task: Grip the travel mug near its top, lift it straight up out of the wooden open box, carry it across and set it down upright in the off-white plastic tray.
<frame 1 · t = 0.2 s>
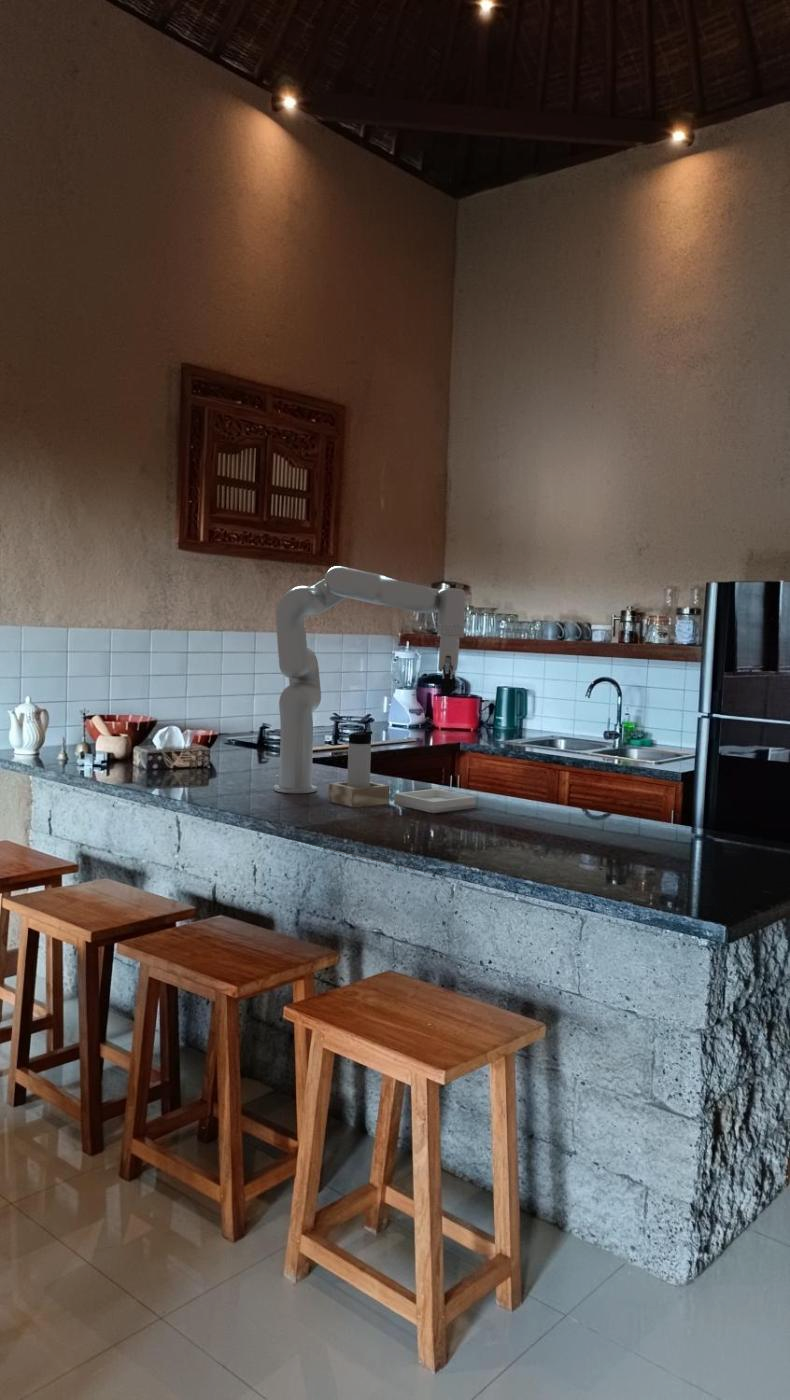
hand: (448, 692, 290), 31 cm above the countertop, tool pointing down, fingers open, 9 cm apart
travel mug: (358, 803, 284), resting in wooden open box
tray: (434, 805, 282), on the countertop
wooden open box: (358, 802, 284), on the countertop
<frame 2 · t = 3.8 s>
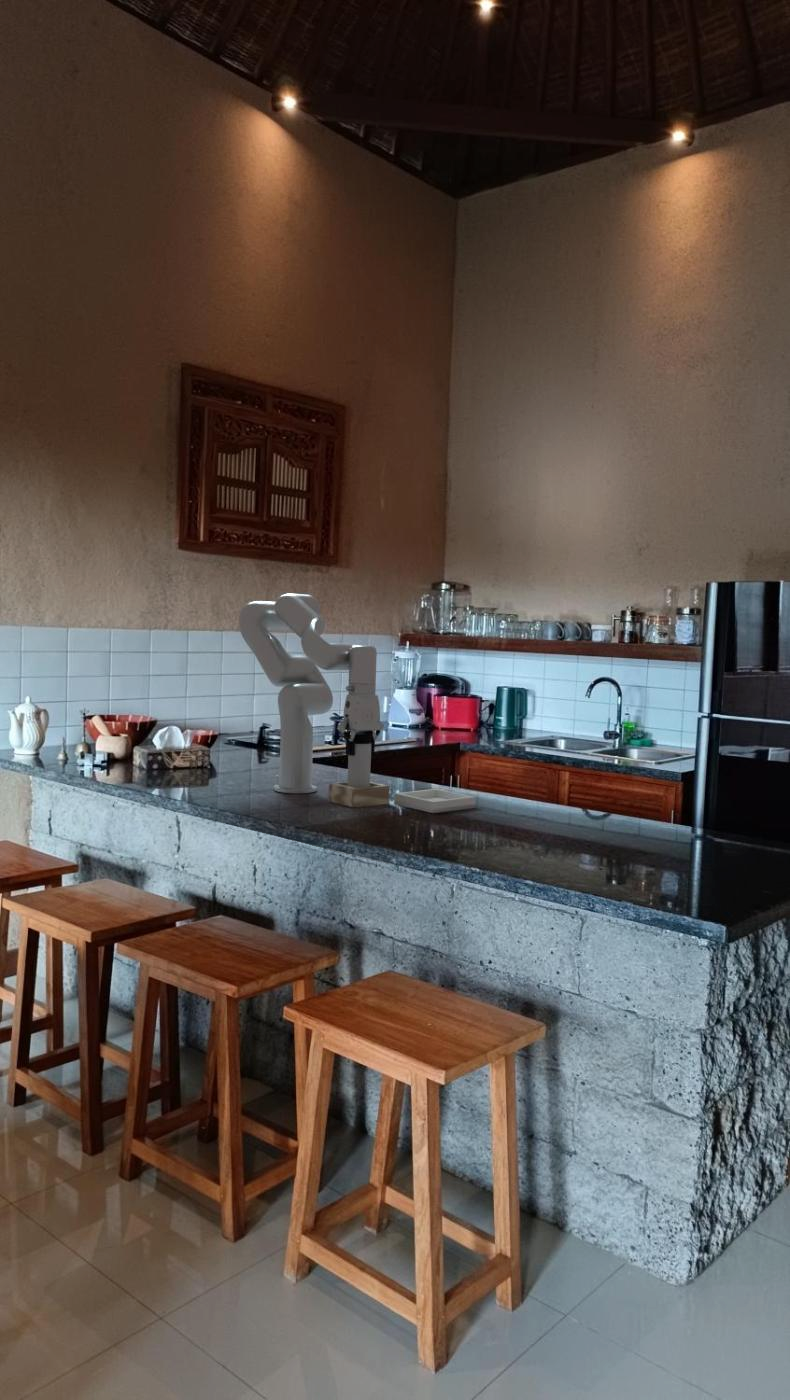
hand: (360, 753, 283), 14 cm above the countertop, tool pointing down, fingers closed on travel mug, 6 cm apart
travel mug: (358, 803, 284), resting in wooden open box, touching gripper
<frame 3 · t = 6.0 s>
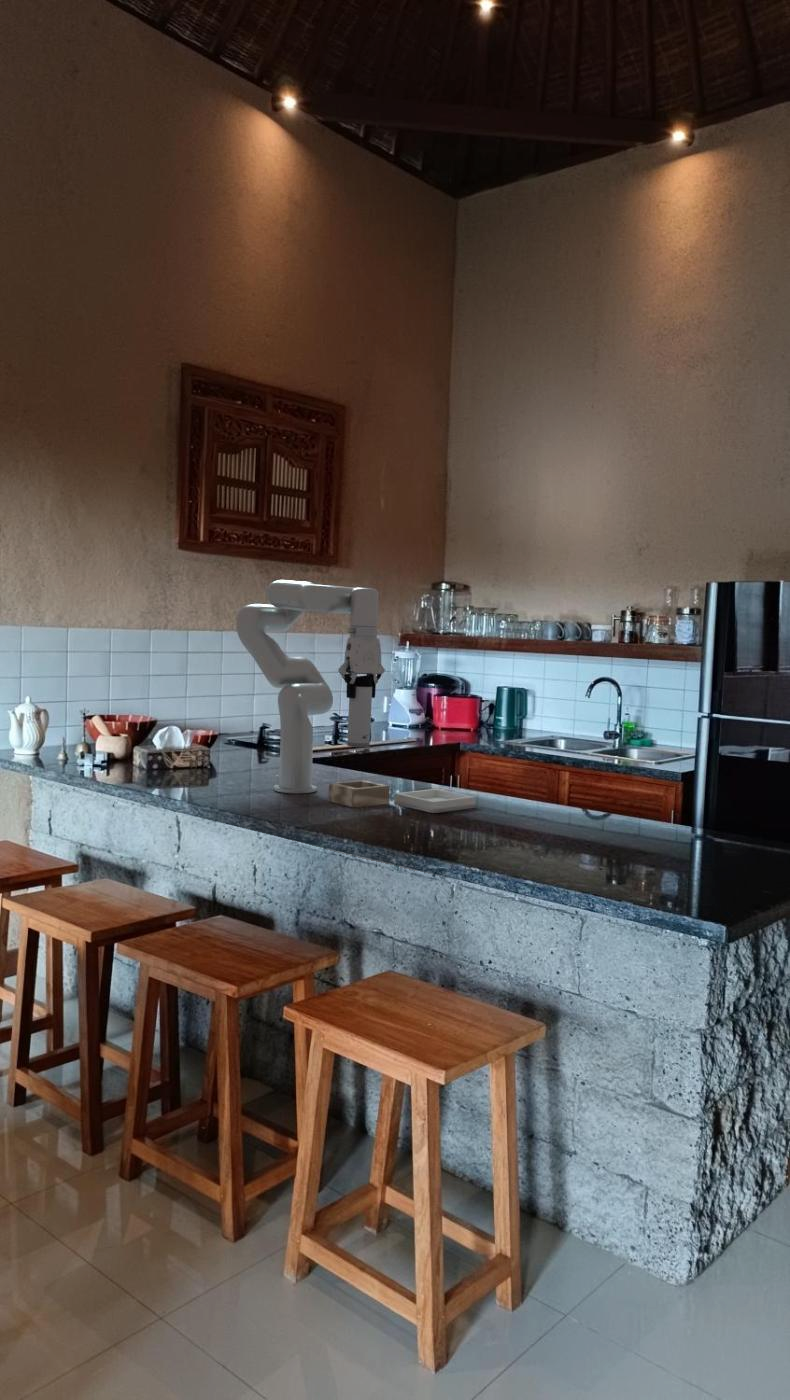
hand: (360, 697, 282), 29 cm above the countertop, tool pointing down, fingers closed on travel mug, 6 cm apart
travel mug: (358, 746, 283), point 16 cm above the countertop, touching gripper
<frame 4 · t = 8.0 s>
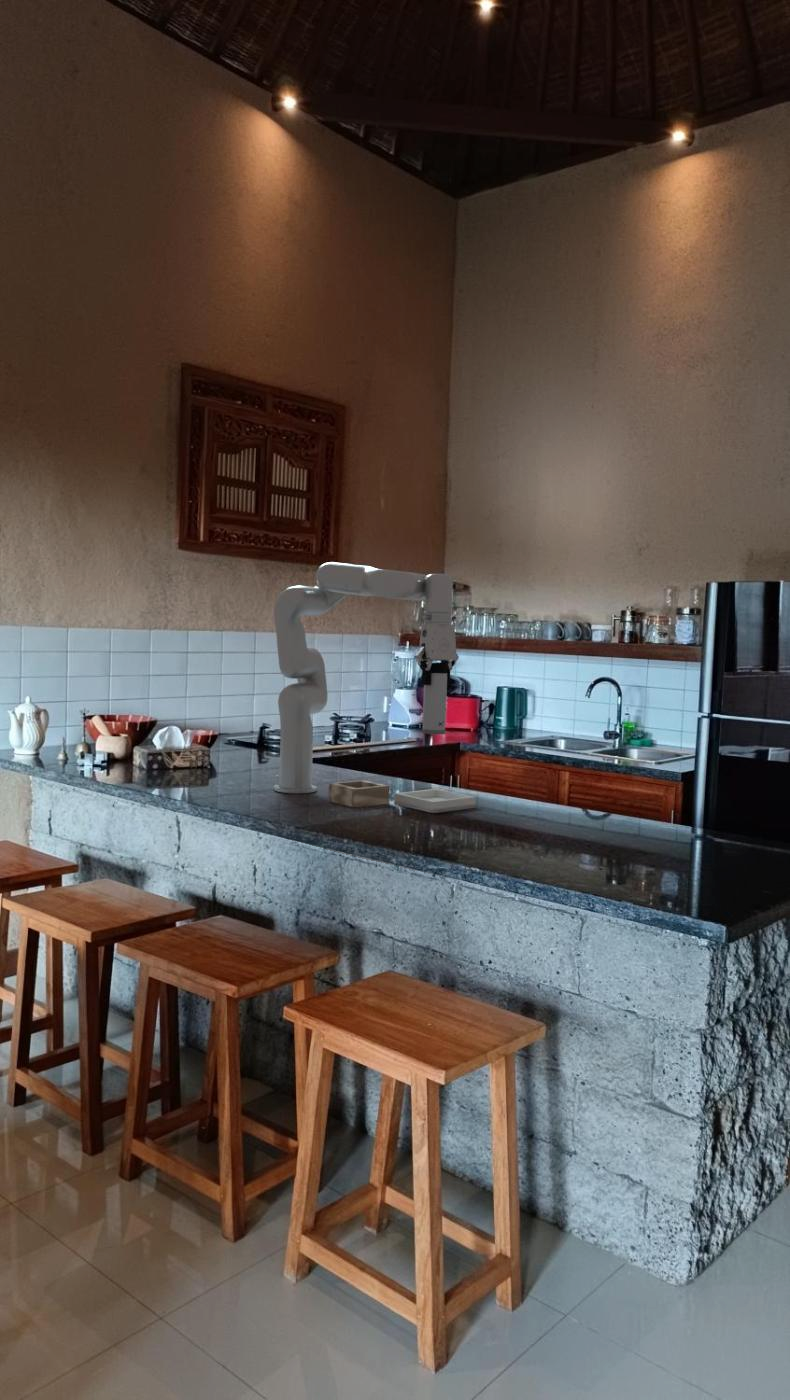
hand: (435, 684, 280), 34 cm above the countertop, tool pointing down, fingers closed on travel mug, 6 cm apart
travel mug: (434, 733, 281), point 20 cm above the countertop, touching gripper
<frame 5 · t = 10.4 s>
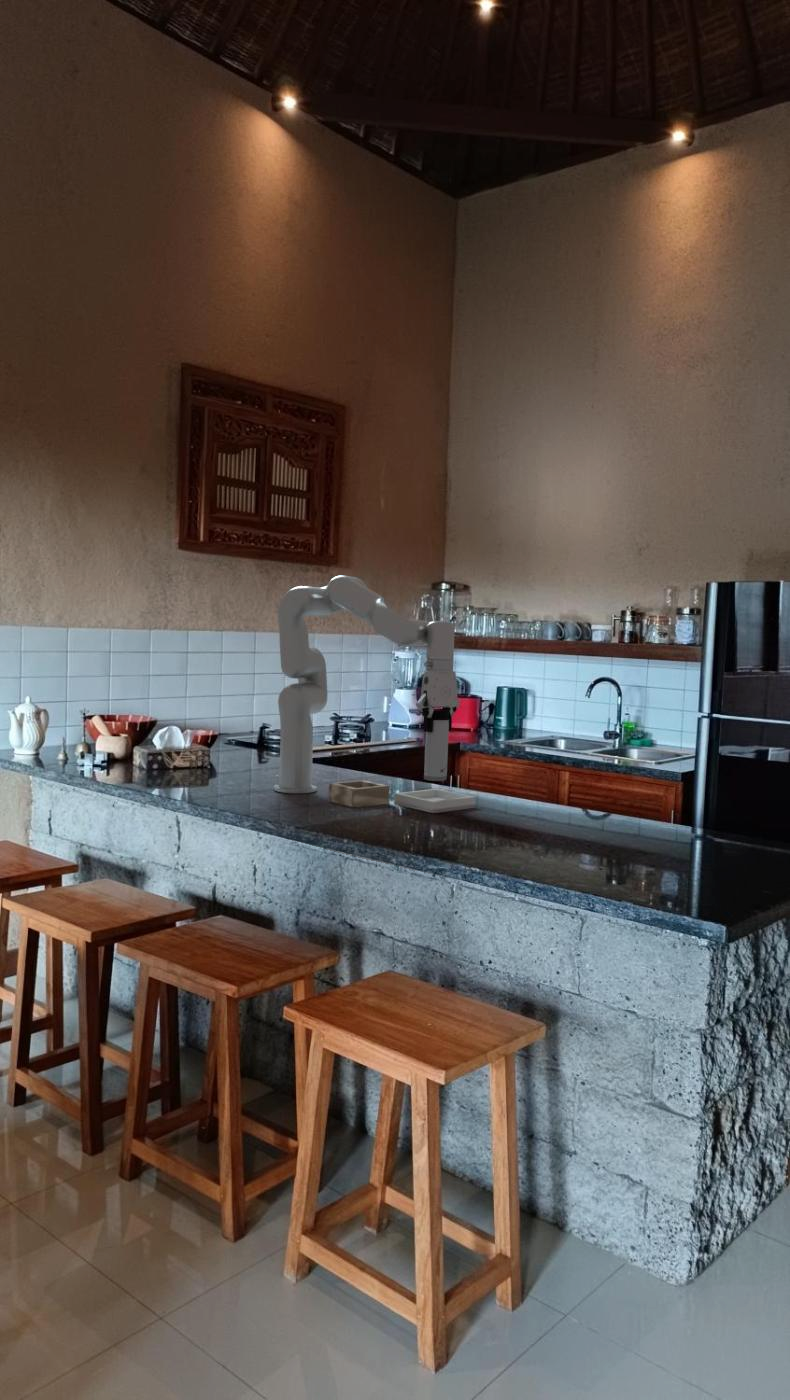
hand: (437, 730, 281), 21 cm above the countertop, tool pointing down, fingers closed on travel mug, 6 cm apart
travel mug: (435, 780, 282), point 7 cm above the countertop, touching gripper
when the fingers open (16 cm above the countertop, at t = 12.4 s): travel mug drops 1 cm, resting on tray.
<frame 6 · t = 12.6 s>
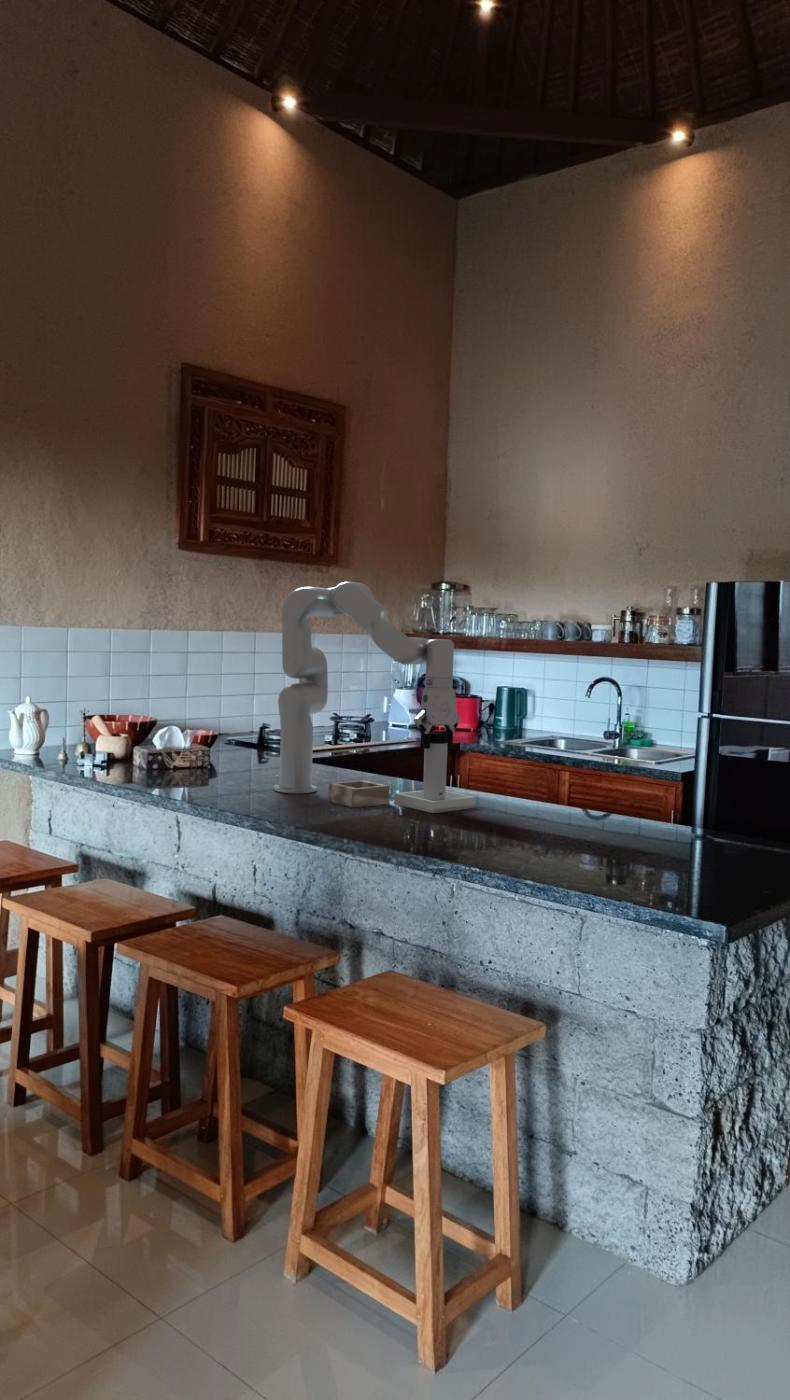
hand: (436, 747, 281), 16 cm above the countertop, tool pointing down, fingers open, 8 cm apart
travel mug: (434, 802, 282), point 1 cm above the countertop, touching tray
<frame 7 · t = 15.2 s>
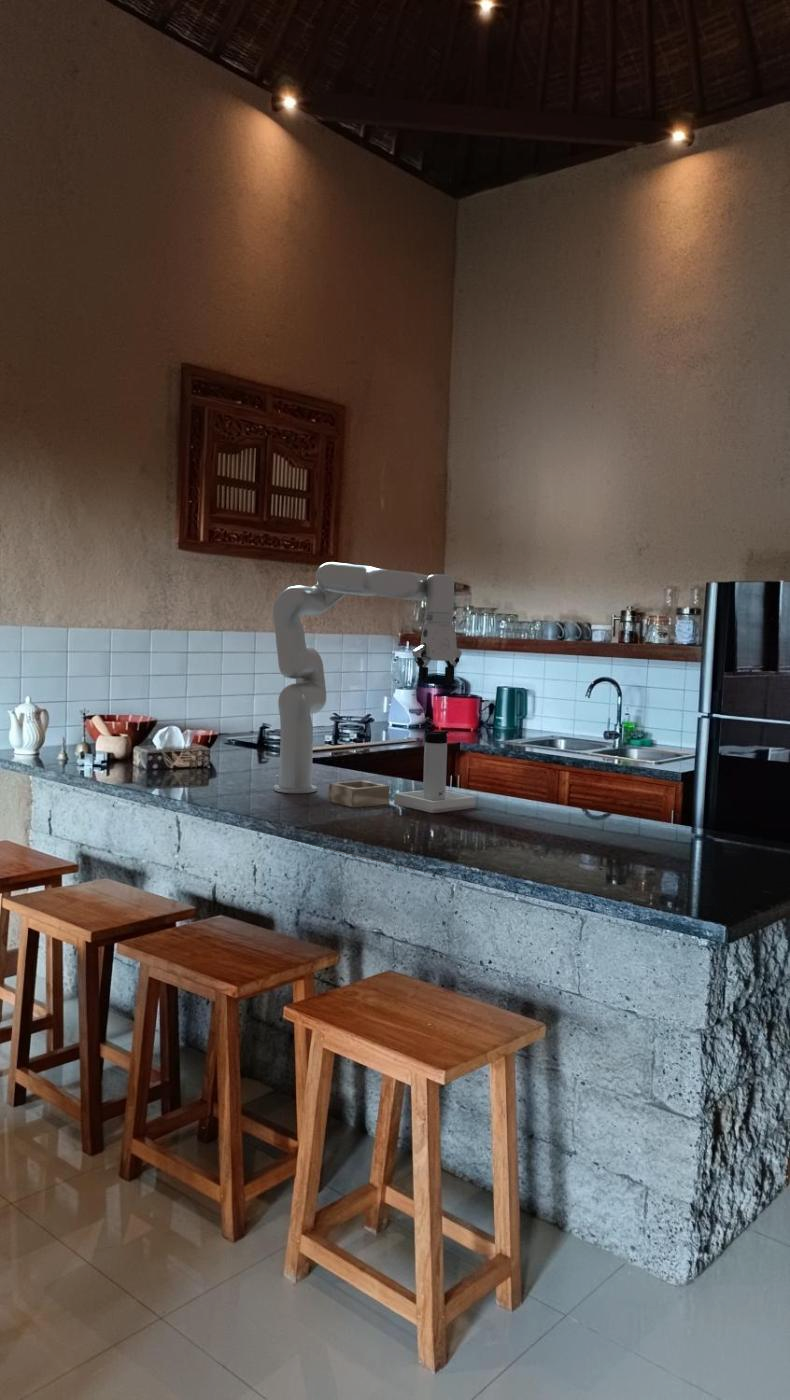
hand: (436, 681, 282), 34 cm above the countertop, tool pointing down, fingers open, 9 cm apart
nothing on the countertop moved.
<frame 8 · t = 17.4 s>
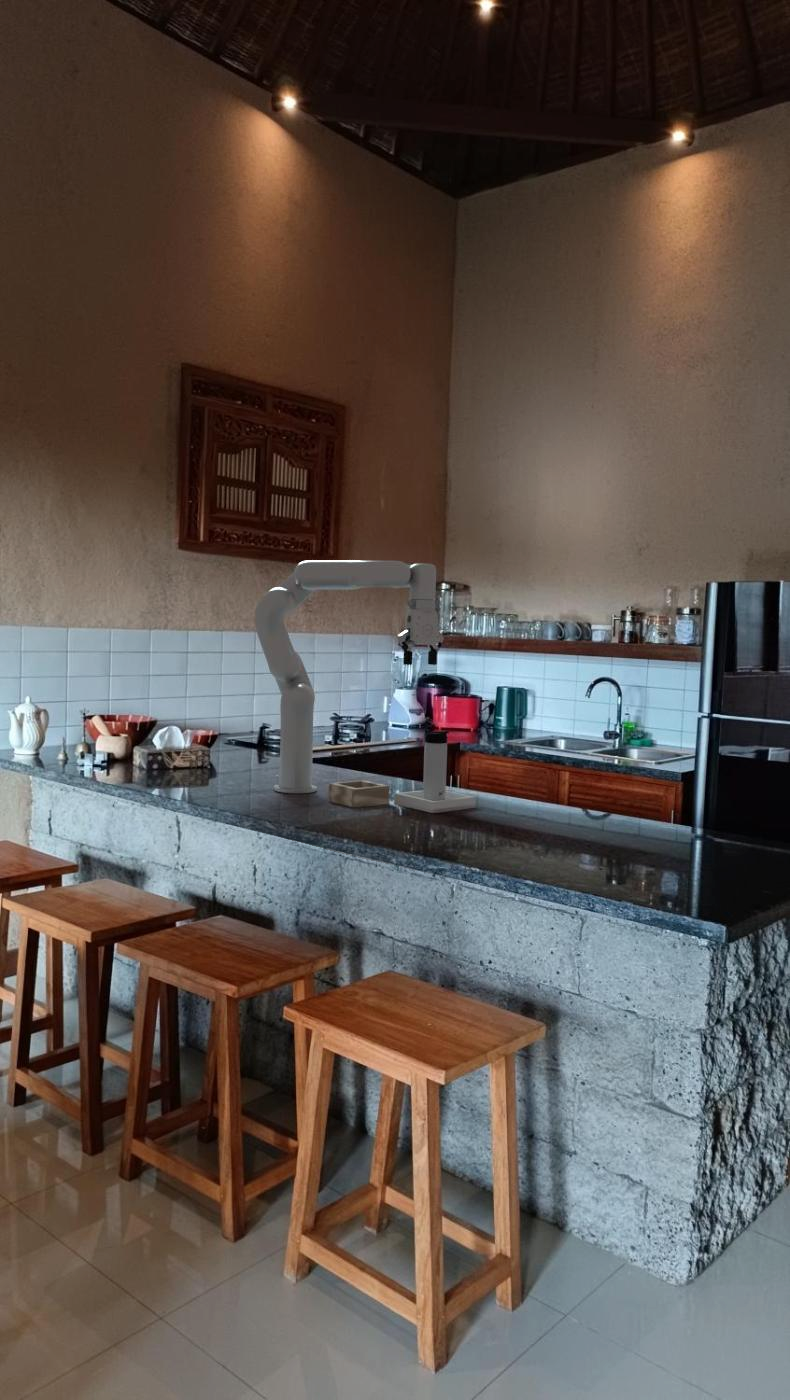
hand: (420, 664, 299), 38 cm above the countertop, tool pointing down, fingers open, 9 cm apart
nothing on the countertop moved.
at the end: travel mug inside the target area on the tray (0.3 cm from its centre), point 0.8 cm above the tray's base; travel mug tilted 0°; the gripper is holding nothing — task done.
